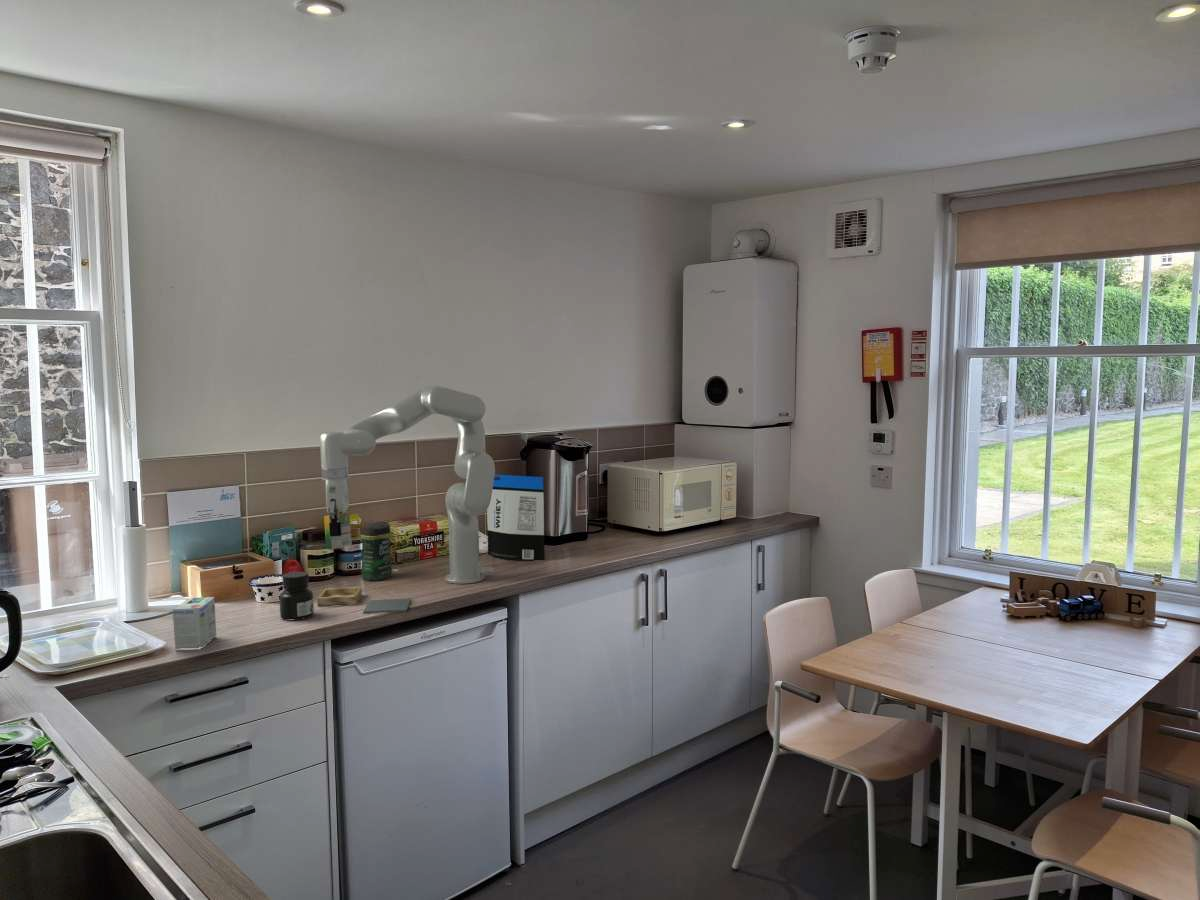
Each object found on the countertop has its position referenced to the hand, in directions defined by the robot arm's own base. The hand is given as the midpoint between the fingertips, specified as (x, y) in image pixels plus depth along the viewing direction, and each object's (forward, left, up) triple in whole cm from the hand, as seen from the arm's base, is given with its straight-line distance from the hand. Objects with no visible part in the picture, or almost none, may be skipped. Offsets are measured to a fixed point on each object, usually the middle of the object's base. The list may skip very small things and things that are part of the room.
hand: (338, 533), depth 255 cm
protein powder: (-53, -50, -21) cm, 76 cm away
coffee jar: (-7, -27, -21) cm, 35 cm away
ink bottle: (+9, +15, -21) cm, 27 cm away
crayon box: (0, 0, -5) cm, 5 cm away
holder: (0, 0, -21) cm, 21 cm away
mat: (-15, +9, -21) cm, 27 cm away
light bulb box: (+29, +36, -21) cm, 51 cm away
